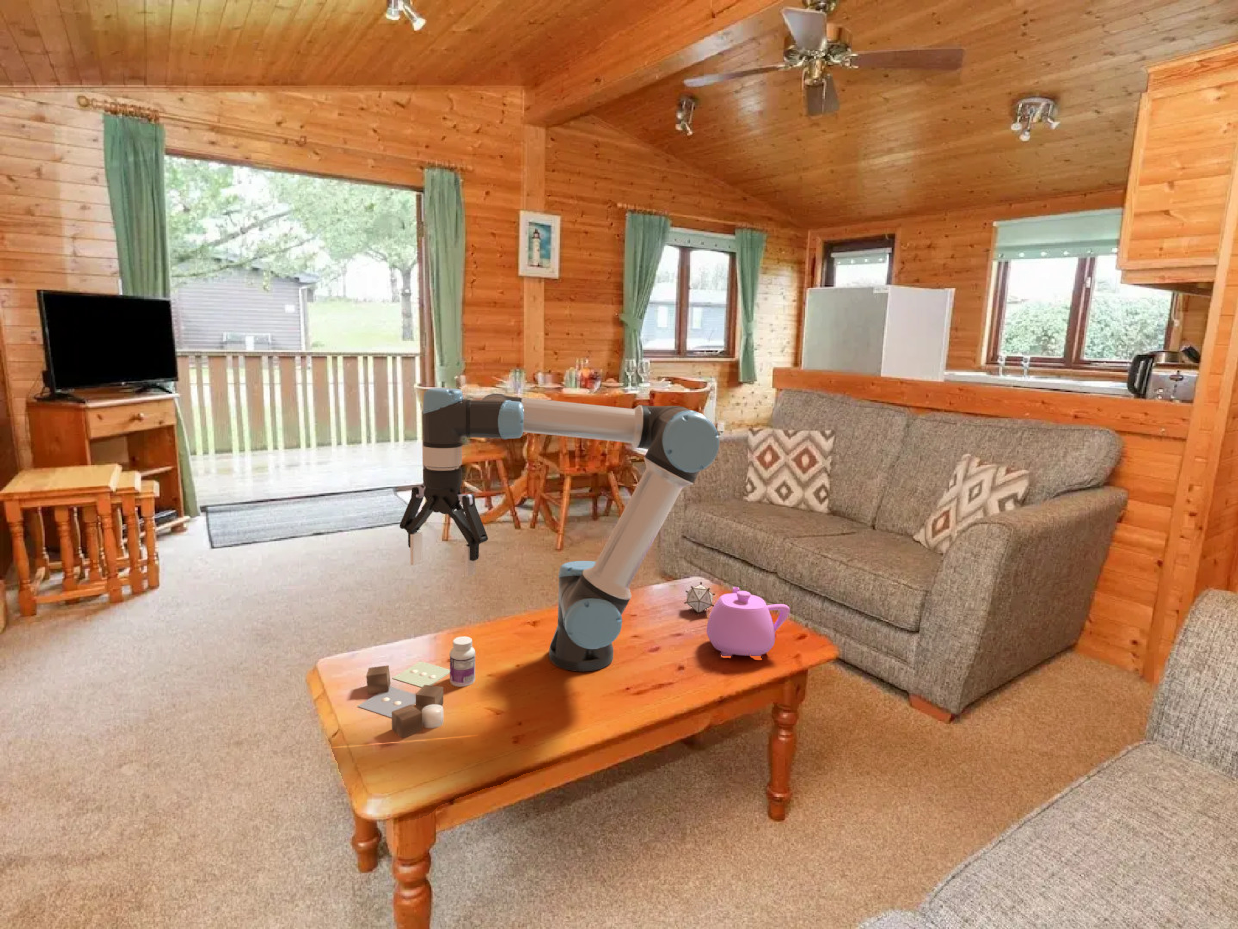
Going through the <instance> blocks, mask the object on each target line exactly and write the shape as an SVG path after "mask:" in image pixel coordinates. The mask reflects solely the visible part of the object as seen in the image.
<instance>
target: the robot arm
mask: <svg viewBox="0 0 1238 929" xmlns="http://www.w3.org/2000/svg"><path fill="white" fill-rule="evenodd" d="M422 402H423V403H422V413H421V414H422V465H423V466H425V467H424V468H422V469H423V470H422V480H423V481H422V484H421V485H418V486H414V487H412V489H411V494H410V499H409V502H408V504H407V507H406V508H405V511H404V513H403V516H402V518H401V520H400V523H399V528H400V529H401V530H405V531H406V533H407V546H408V548H409V549H410V550H409V551H410V566H415V565H418V564H420V563H422V562H423V531H421V528H422V526H423V525H424V524H425V523H426V521H427V520H428V519H429V517H430V516H431V515H432V514H433V513H437V514H438V513H441V514H443V515H448V517H449V518H451V519H452V520H453V522H454V524H456V527H457V528H458V530H459V532H460V533H461V534H462V536H463V538H464V539H465V541H466V544H464V569H463V570H464V577H465V578H469V577H471V576H473V575H475V574H477V561H478V559H479V557H480V545H481V544H482V543H485V542H487V541H488V539H489V537H488V534H487V531H486V529H485V526H484V524H483V521H482V518H481V515H480V513H479V511H478V509H477V506H476V500H475V498H476V496H475V495H474V493H472V492H471V493H468V494H462V491H461V487H462V485H463V469H462V467H461V466H462V465H463V438H468V439H469V438H477V439H479V438H480V439H502V440H508V439H520V438H521V437H523V434H524V433H528V434H530V433H531V434H541V435H548V436H558V437H559V436H561V437H568V438H570V437H571V438H578V439H579V438H580V439H588V440H590V439H591V440H598V441H609V442H617V443H618V442H620V443H629V444H631V445H632V446H633V448H635V449H643V450H647V451H646V453H645V455H644V457H643V460H644V463H645V468H646V469H645V470H644V472H643V474H642V476H641V477H640V479H639V482H638V483H637V485H636V486H635V489H634V491H632V492H633V493H632V494H631V496H630V497H629V500H628V502H627V503H626V506H624V509H623V511H622V513H621V515H620V517H619V518H618V520H617V523H616V524H615V526H614V528H613V529H612V532H611V533H610V536H609V538H608V539H607V540H606V543H605V545H604V546H603V548H602V550H601V552H600V554H599V556H598V557H597V560H596V561H593V560H592V561H591V560H577V561H576V560H575V561H568V562H565V563H563V564H561V566H560V567H559V572H558V575H557V576H558V596H557V597H558V601H557V626H556V629H555V632H554V634H553V636H552V639H551V642H550V644H549V650H548V658H549V660H550V662H551V663H552V664H553V665H555V666H556V667H558V668H560V669H563V670H566V671H572V672H592V671H598V670H601V669H603V668H606V667H608V666H609V665H611V664H612V662H613V661H614V644H613V642H614V641H615V640H617V638H618V636H619V635H620V634H621V630H622V627H623V613H624V612H625V610H626V608H627V606H628V604H629V601H630V600H631V598H632V593H631V590H630V586H631V583H632V581H633V580H634V578H635V576H636V575H637V572H638V570H639V569H640V566H641V565H642V563H643V561H644V559H645V557H646V556H647V554H648V552H649V550H650V549H651V547H652V545H653V543H654V541H655V539H656V537H657V536H658V534H659V532H660V530H661V529H662V527H663V525H664V523H665V521H666V519H667V517H668V515H669V513H670V512H671V510H672V509H673V506H675V503H676V502H677V501H676V500H677V499H678V497H679V495H680V493H681V491H682V489H684V488H685V487H689V486H692V485H694V484H695V481H696V479H697V477H698V476H699V474H700V472H701V471H703V470H705V469H706V468H708V467H709V466H710V465H712V464H713V463H714V461H715V459H716V458H717V456H718V453H719V450H720V436H719V432H718V430H717V428H716V426H715V424H714V423H713V422H712V421H711V420H710V419H709V418H708V417H706V416H705V415H704V414H702V413H700V412H698V411H696V410H691V409H690V408H687V407H685V406H679V405H666V406H665V405H663V406H662V405H661V406H658V405H654V406H653V405H642V404H639V405H637V406H636V407H634V408H627V407H618V406H608V405H607V406H606V405H597V404H588V403H580V402H579V403H578V402H569V401H558V400H550V399H547V400H546V399H541V398H540V399H538V398H530V397H517V396H509V395H505V394H502V393H495V392H494V393H490V394H487V395H486V396H484V397H483V398H482V399H468V398H464V395H463V391H462V390H461V389H460V388H459V389H458V388H450V387H449V388H448V387H432V388H427V389H426V390H425V391H424V392H423V400H422ZM424 498H425V501H426V502H425V503H424V504H423V505H422V502H423V500H424ZM421 506H422V507H421ZM420 507H421V510H420V511H419V509H420Z"/></svg>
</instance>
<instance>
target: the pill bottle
mask: <svg viewBox="0 0 1238 929" xmlns="http://www.w3.org/2000/svg"><path fill="white" fill-rule="evenodd" d="M449 669H450V673H449V682H450V684H451V685H452V686H454V687H468V686H471V685H472V684H474V683H475V681H476V649H475V648H474V647H473V639H472V638H471V637H469V636H457V637H455V638H454V639H453V641H452V648H451V649H450V652H449Z"/></svg>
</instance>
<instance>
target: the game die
mask: <svg viewBox="0 0 1238 929" xmlns="http://www.w3.org/2000/svg"><path fill="white" fill-rule="evenodd" d="M710 590H711V588H710V587H708V588H707V587H705V586H704V585H703V582H702V581H700V583H699V584H698V585H696V586H693V585H691V586H690V589H689V591H688V590H685V593H687V594H686V595H687V596H686V601H684V602H683V604H684V605H685V604H687V605H688V606H689V608H690V607H692V608H691V609H693V610H694V611H695V612H696V613H698V612H700V613H702V612H704V611H706V610H707V608H708V609H710V607H712V608H713V607H714V605H715V604H713V598H714V597H713V596H716V593H712V592H711V591H710ZM705 609H706V610H705ZM703 610H704V611H703Z"/></svg>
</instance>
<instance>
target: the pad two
mask: <svg viewBox="0 0 1238 929" xmlns="http://www.w3.org/2000/svg"><path fill="white" fill-rule="evenodd" d="M416 694H417V693H413V692H409V691H406V690H404V689H400V688H396V687H393V686H391V685H390V687H389V692H382V693H375V694H374V695H373V696H372V697H370V698H369V699H367V700H365V701H364V702H362V703H360V704H359V705H357V708H360V709H363V710H366V711H369V712H372V713H375V714H377V715H381V716H384V717H386V718H387V717H388V718H390V719H392V711H395V710H397V709H400V708H403V707H405V706H408V705H413V706H414V705H416Z"/></svg>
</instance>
